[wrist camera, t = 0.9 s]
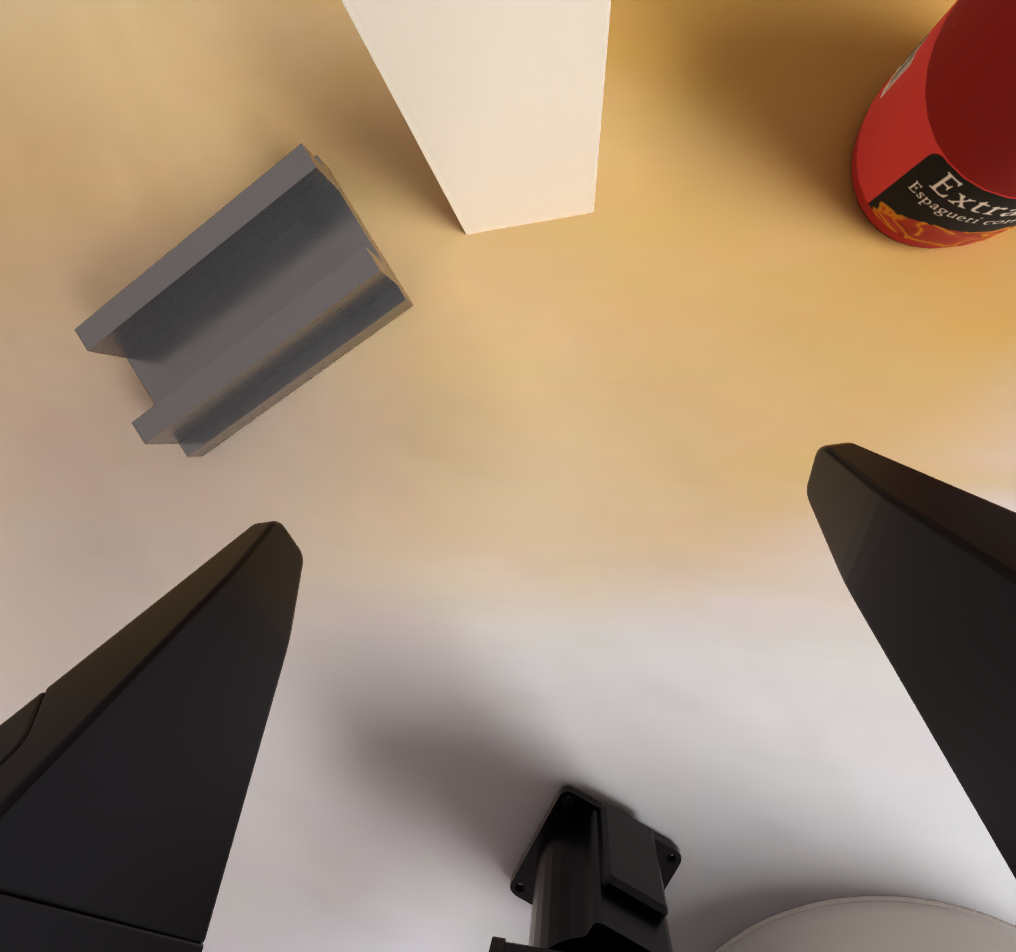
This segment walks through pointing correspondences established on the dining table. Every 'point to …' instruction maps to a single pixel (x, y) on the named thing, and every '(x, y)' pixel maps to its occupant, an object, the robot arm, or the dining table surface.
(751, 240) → the dining table surface
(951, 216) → the canned food
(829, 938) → the kettle
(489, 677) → the dining table surface
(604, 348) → the dining table surface
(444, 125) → the door panel
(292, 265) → the bottom track
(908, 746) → the dining table surface
